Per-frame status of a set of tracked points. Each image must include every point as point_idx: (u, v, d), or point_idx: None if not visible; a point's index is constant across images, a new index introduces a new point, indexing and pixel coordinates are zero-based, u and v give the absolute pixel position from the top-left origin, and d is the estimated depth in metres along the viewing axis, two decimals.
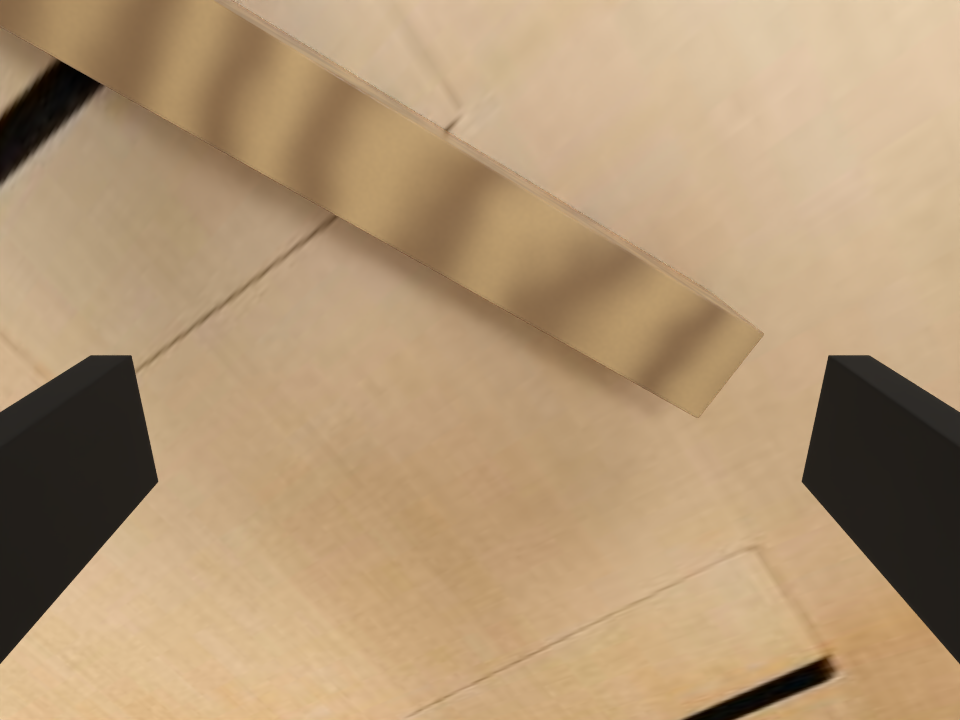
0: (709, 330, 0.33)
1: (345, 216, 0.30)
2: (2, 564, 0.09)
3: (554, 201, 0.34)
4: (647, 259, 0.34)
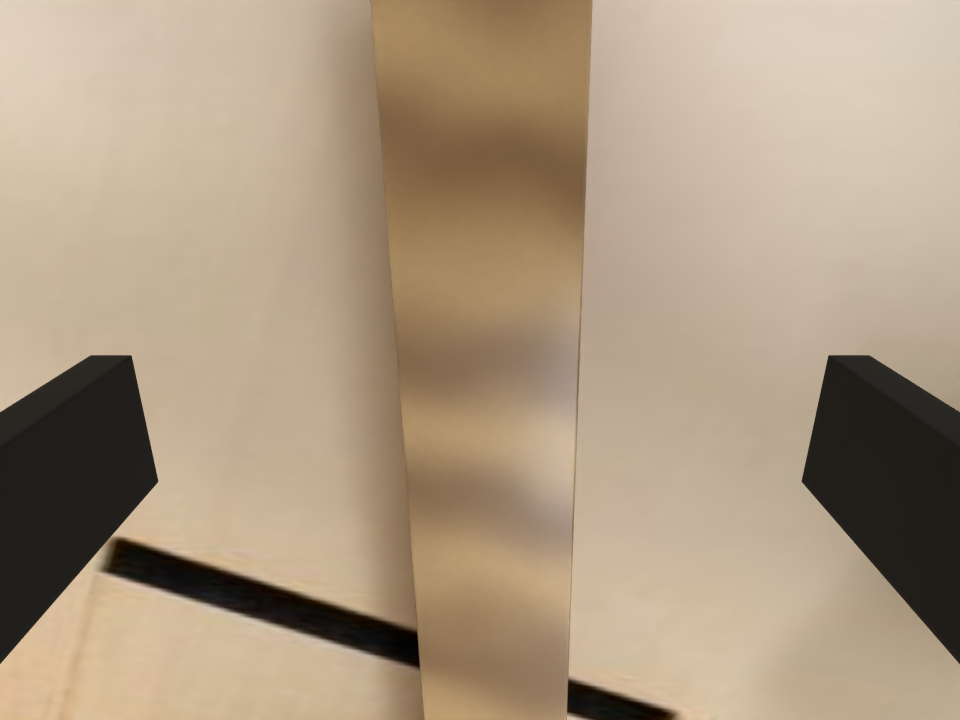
0: None
1: None
2: (2, 564, 0.09)
3: None
4: None
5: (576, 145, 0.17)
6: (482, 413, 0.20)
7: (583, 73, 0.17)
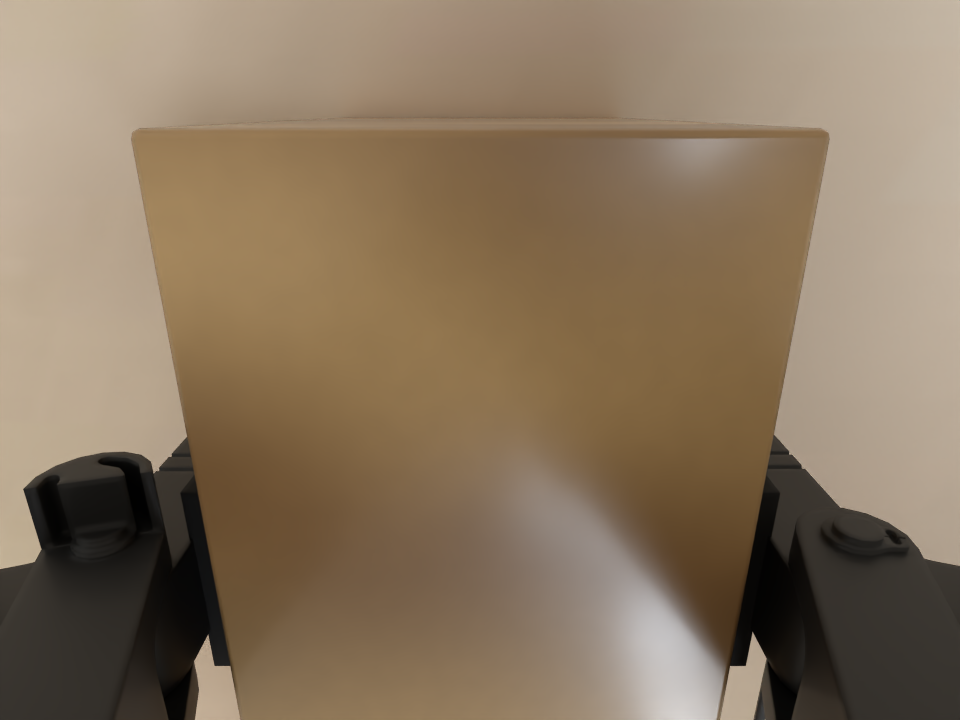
0: None
1: None
2: None
3: None
4: None
5: (726, 540, 0.06)
6: None
7: (766, 379, 0.06)
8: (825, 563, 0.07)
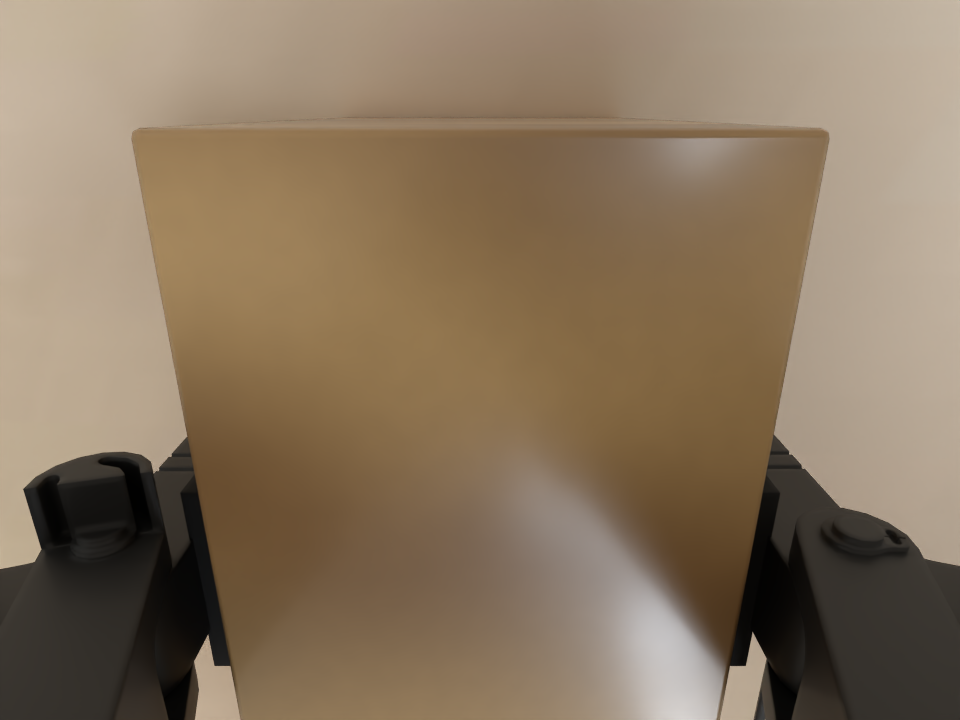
0: None
1: None
2: None
3: None
4: None
5: (726, 540, 0.06)
6: None
7: (766, 378, 0.06)
8: (825, 562, 0.07)
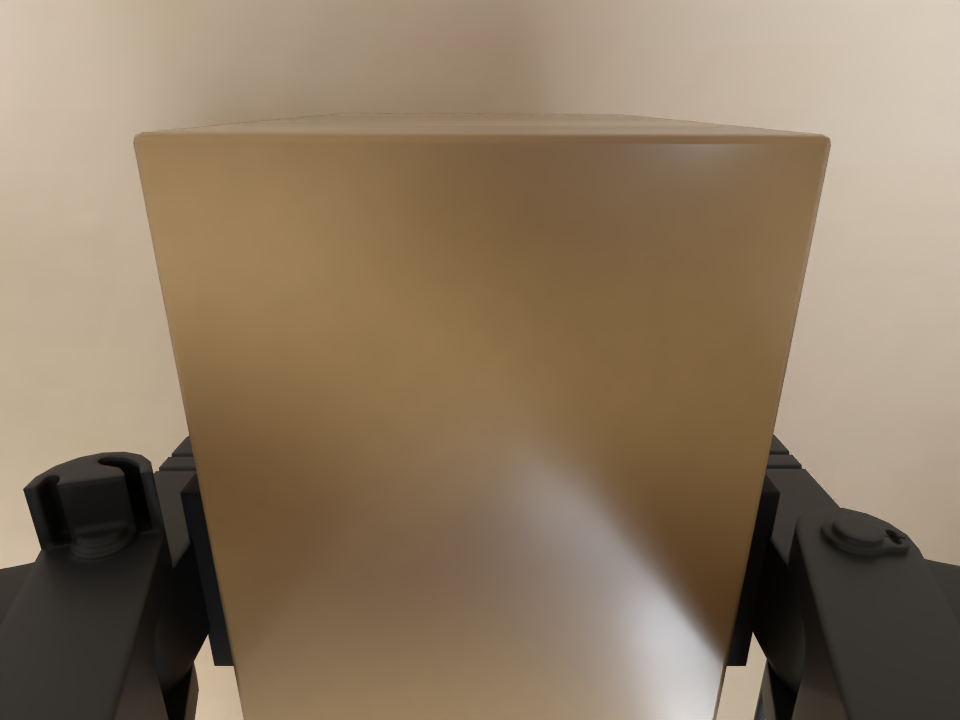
0: None
1: None
2: None
3: None
4: None
5: (725, 541, 0.07)
6: None
7: (765, 382, 0.06)
8: (823, 563, 0.07)
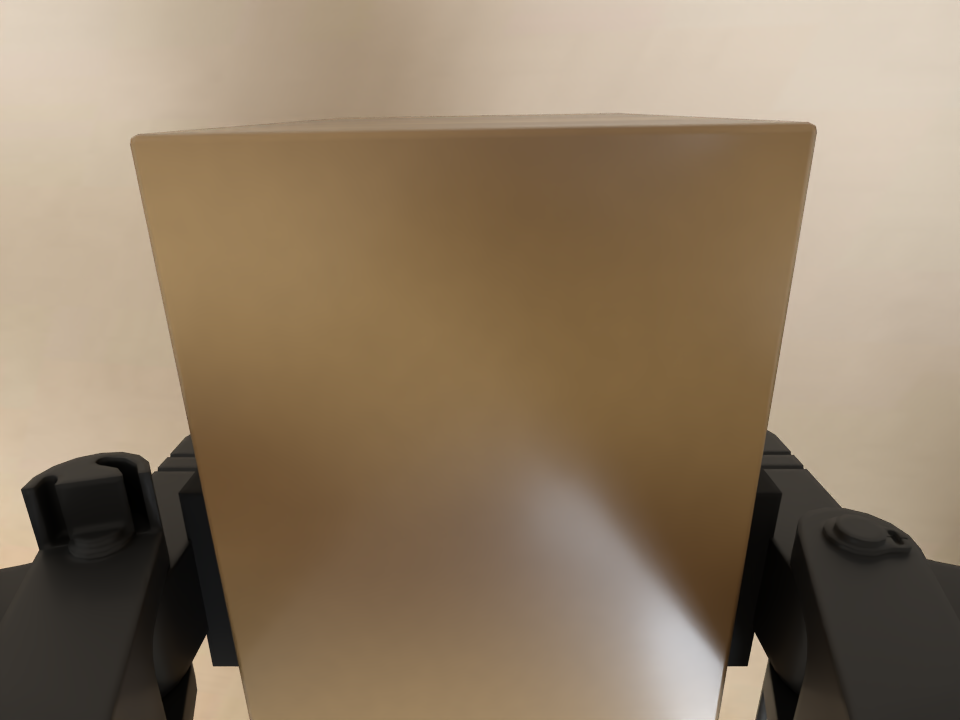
0: None
1: None
2: None
3: None
4: None
5: (723, 531, 0.07)
6: None
7: (759, 371, 0.06)
8: (825, 563, 0.07)
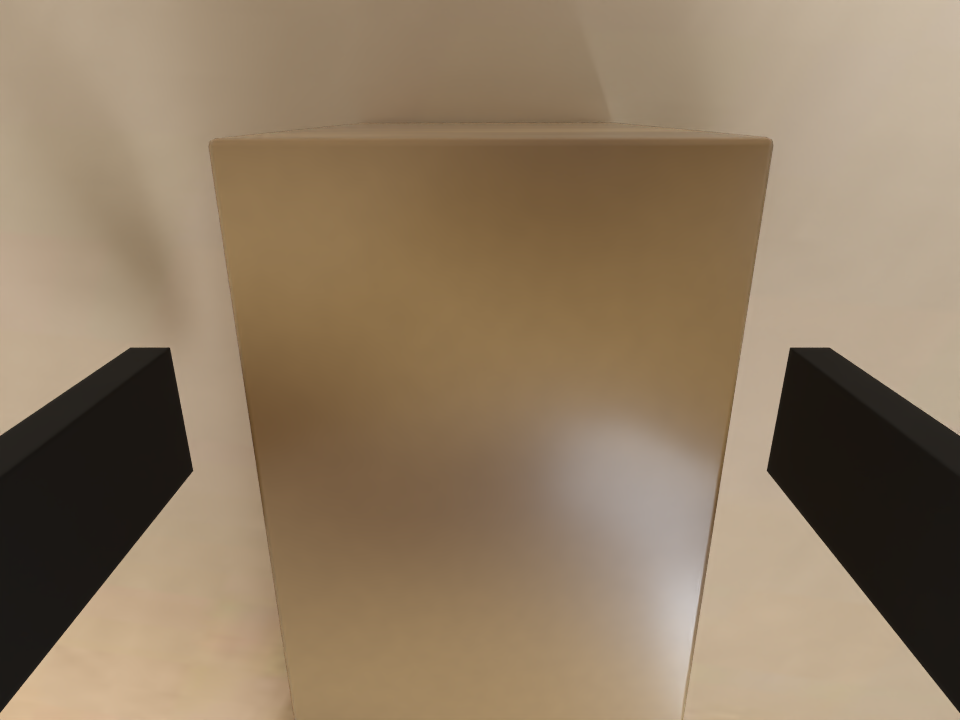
0: None
1: None
2: (60, 545, 0.09)
3: None
4: None
5: (697, 483, 0.08)
6: None
7: (726, 344, 0.07)
8: None
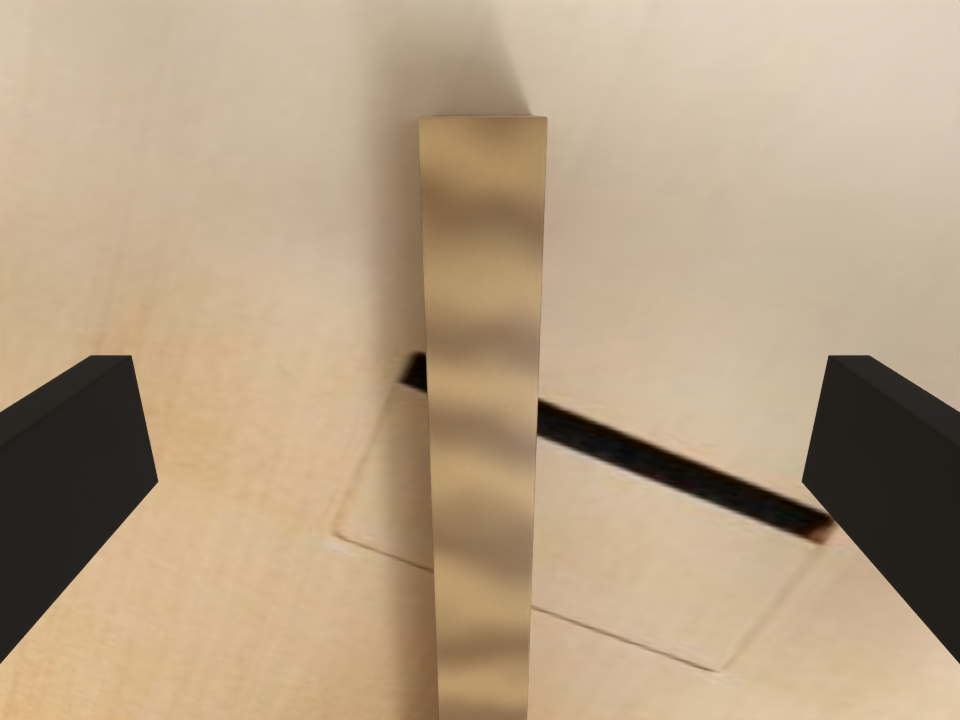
0: None
1: None
2: (2, 564, 0.09)
3: None
4: None
5: (537, 209, 0.29)
6: (478, 372, 0.32)
7: (541, 168, 0.28)
8: None
